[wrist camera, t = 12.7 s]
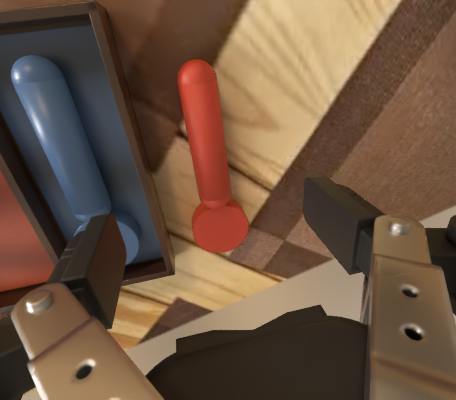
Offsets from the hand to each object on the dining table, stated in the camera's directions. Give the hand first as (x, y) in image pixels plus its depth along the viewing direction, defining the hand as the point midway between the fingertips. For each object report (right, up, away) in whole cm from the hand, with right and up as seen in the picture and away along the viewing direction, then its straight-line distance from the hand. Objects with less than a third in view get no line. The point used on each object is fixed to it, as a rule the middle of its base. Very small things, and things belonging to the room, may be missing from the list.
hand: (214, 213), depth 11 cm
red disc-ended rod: (-1, +3, +13) cm, 13 cm away
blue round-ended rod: (-10, +2, +10) cm, 15 cm away
